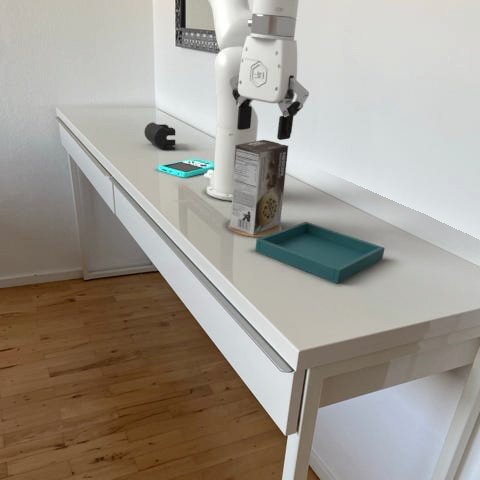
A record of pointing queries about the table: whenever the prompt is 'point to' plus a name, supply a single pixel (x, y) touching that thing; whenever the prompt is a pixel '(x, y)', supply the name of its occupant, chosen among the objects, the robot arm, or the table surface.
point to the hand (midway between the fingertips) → (263, 133)
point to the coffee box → (258, 185)
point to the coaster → (261, 234)
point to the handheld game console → (187, 167)
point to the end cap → (160, 135)
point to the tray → (320, 251)
